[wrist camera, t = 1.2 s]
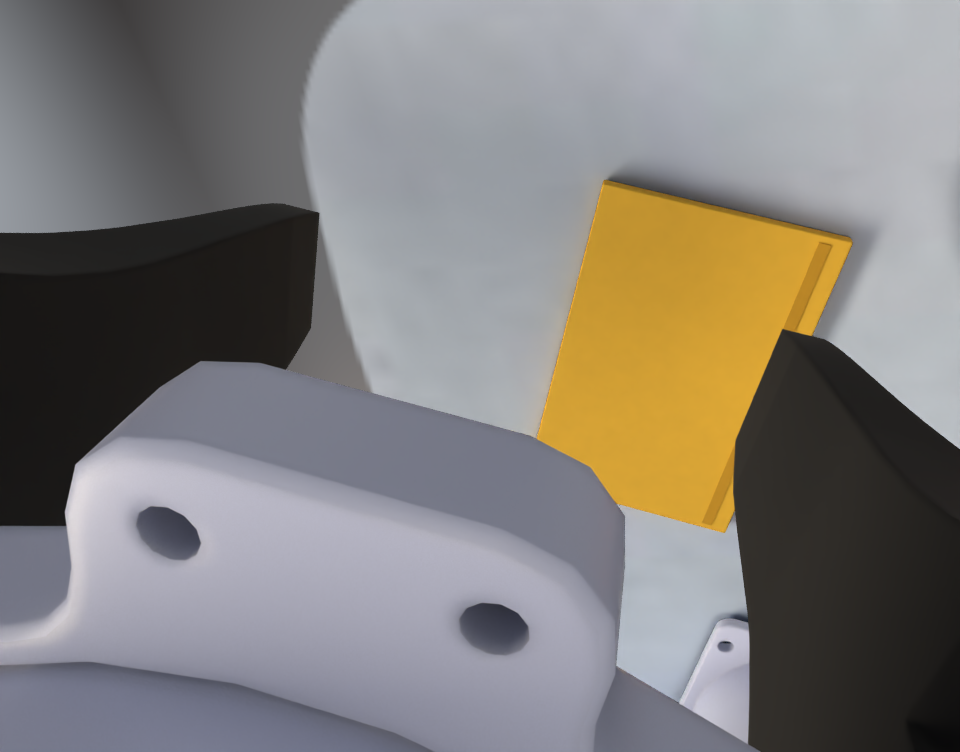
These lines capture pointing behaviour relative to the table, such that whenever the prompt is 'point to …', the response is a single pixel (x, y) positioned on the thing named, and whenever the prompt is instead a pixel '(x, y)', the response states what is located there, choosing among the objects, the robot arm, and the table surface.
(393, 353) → the table surface
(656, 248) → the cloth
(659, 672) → the table surface
